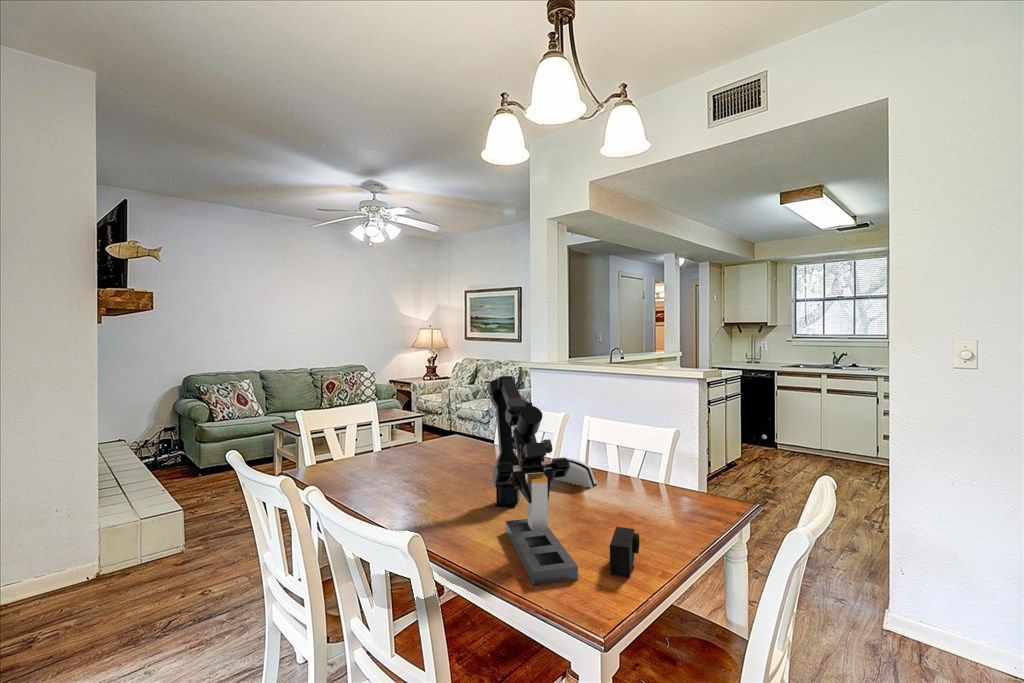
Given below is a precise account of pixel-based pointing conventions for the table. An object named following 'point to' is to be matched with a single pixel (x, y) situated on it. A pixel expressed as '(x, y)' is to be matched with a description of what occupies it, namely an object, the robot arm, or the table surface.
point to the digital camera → (623, 551)
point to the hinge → (579, 474)
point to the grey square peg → (538, 501)
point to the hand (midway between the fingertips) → (539, 501)
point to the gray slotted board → (541, 554)
